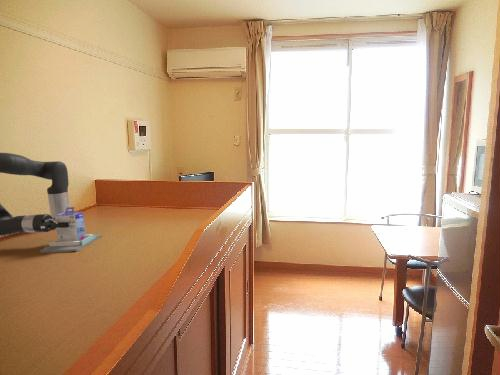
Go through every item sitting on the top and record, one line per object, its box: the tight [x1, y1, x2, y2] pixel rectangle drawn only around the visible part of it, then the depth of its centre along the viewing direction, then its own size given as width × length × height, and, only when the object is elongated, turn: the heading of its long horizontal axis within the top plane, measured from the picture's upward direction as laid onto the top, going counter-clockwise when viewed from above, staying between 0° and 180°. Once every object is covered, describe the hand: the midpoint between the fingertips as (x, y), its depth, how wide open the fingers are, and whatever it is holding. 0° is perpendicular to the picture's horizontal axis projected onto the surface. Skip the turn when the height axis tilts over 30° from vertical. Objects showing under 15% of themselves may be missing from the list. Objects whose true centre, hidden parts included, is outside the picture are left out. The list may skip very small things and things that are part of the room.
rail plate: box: [39, 233, 103, 254], centre depth 147 cm, size 20×15×2 cm
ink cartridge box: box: [55, 206, 87, 242], centre depth 146 cm, size 10×6×14 cm, turn 80°
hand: (74, 222), depth 145 cm, fingers open, 8 cm apart
